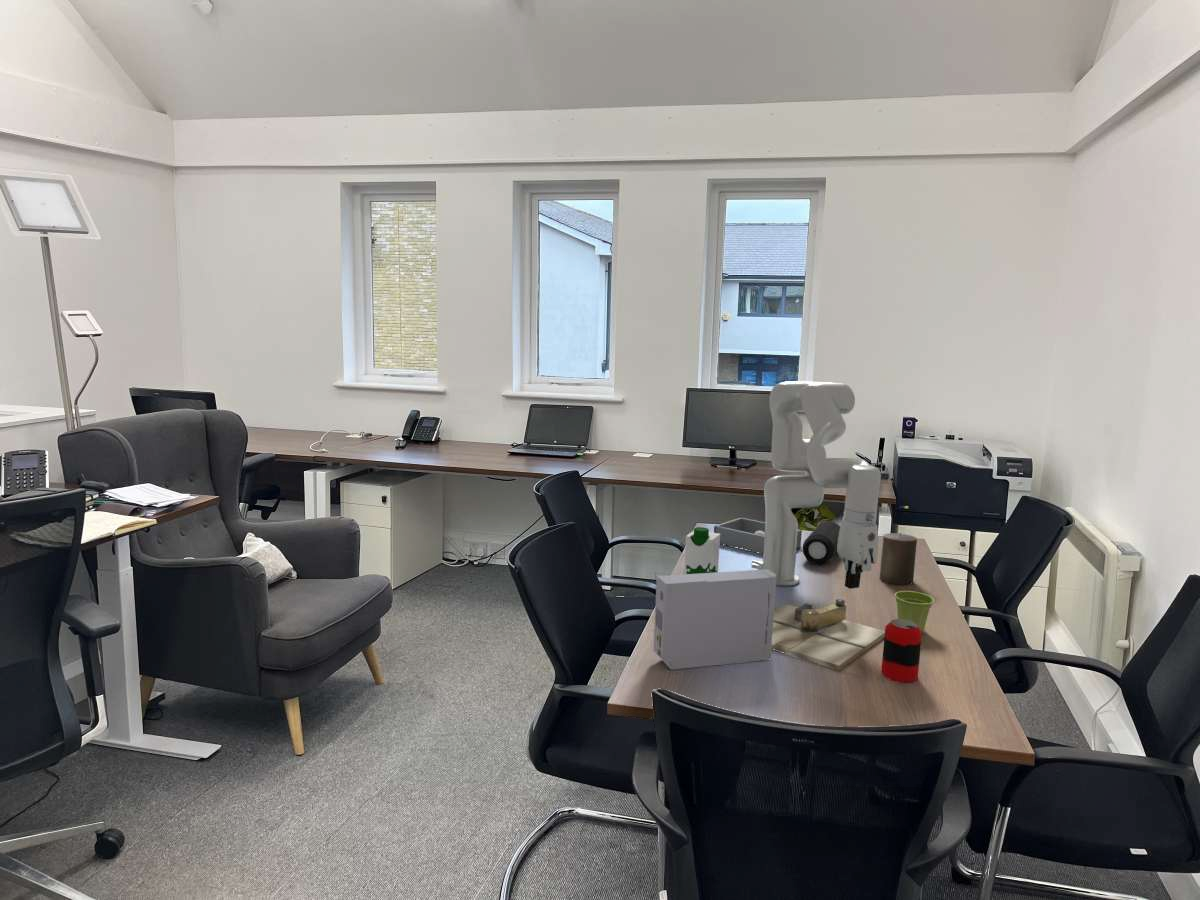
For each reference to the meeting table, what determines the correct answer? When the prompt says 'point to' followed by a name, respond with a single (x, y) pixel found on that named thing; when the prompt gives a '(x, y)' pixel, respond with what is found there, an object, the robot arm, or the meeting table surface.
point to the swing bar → (823, 616)
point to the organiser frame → (745, 534)
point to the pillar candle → (898, 558)
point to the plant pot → (913, 607)
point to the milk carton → (702, 551)
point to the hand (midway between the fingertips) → (851, 586)
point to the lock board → (821, 638)
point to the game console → (714, 618)
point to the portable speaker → (822, 543)
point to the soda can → (901, 651)
